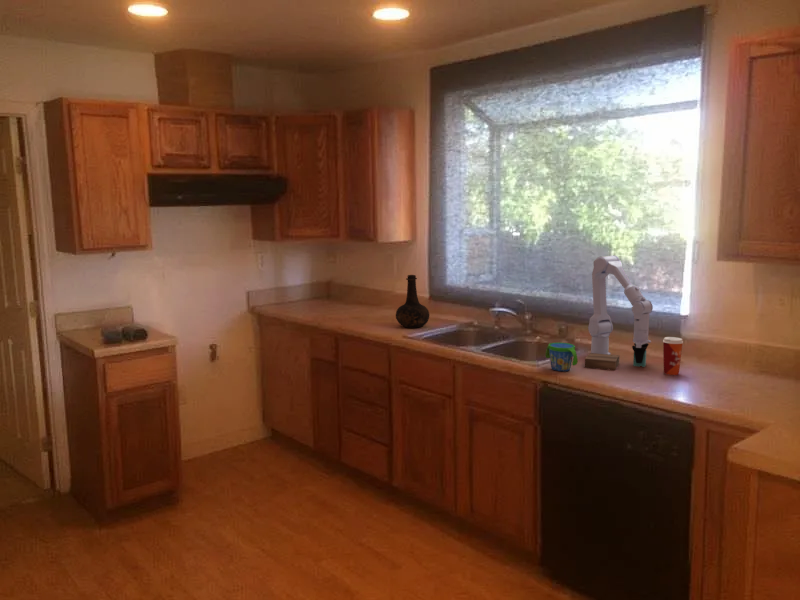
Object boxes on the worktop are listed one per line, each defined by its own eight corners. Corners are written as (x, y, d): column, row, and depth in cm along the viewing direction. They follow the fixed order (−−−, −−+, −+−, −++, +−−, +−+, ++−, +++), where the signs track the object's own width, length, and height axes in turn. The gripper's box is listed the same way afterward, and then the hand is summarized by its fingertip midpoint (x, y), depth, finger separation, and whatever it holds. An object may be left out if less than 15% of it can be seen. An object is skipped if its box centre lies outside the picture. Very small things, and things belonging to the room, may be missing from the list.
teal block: (634, 363, 296) (635, 349, 295) (645, 364, 294) (646, 350, 293) (633, 365, 292) (633, 351, 291) (644, 366, 290) (645, 352, 289)
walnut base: (589, 362, 301) (590, 352, 300) (619, 364, 296) (619, 355, 295) (584, 368, 290) (584, 358, 289) (614, 371, 285) (615, 361, 284)
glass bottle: (435, 325, 383) (435, 274, 379) (418, 331, 368) (418, 277, 364) (407, 322, 393) (407, 272, 389) (389, 327, 378) (389, 275, 374)
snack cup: (584, 372, 281) (585, 347, 280) (563, 375, 277) (563, 350, 275) (558, 364, 295) (559, 340, 294) (538, 367, 291) (539, 342, 289)
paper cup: (675, 376, 274) (677, 341, 272) (657, 373, 280) (658, 338, 278) (685, 373, 279) (687, 338, 277) (667, 369, 285) (669, 335, 283)
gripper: (649, 333, 283) (648, 366, 285) (653, 327, 296) (651, 359, 298) (631, 332, 286) (629, 364, 288) (635, 326, 299) (634, 357, 301)
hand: (639, 361), depth 293 cm, fingers closed on teal block, 4 cm apart
